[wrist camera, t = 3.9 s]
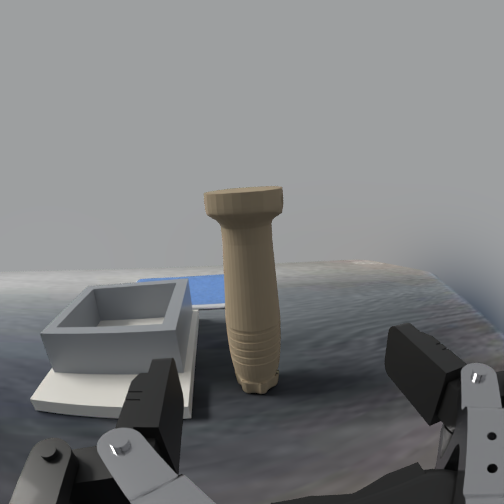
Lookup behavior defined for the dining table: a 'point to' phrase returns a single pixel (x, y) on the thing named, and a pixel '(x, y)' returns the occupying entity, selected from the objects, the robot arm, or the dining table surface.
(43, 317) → the dining table surface
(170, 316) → the open box
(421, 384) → the robot arm
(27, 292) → the dining table surface
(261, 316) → the handle
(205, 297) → the tablet computer
